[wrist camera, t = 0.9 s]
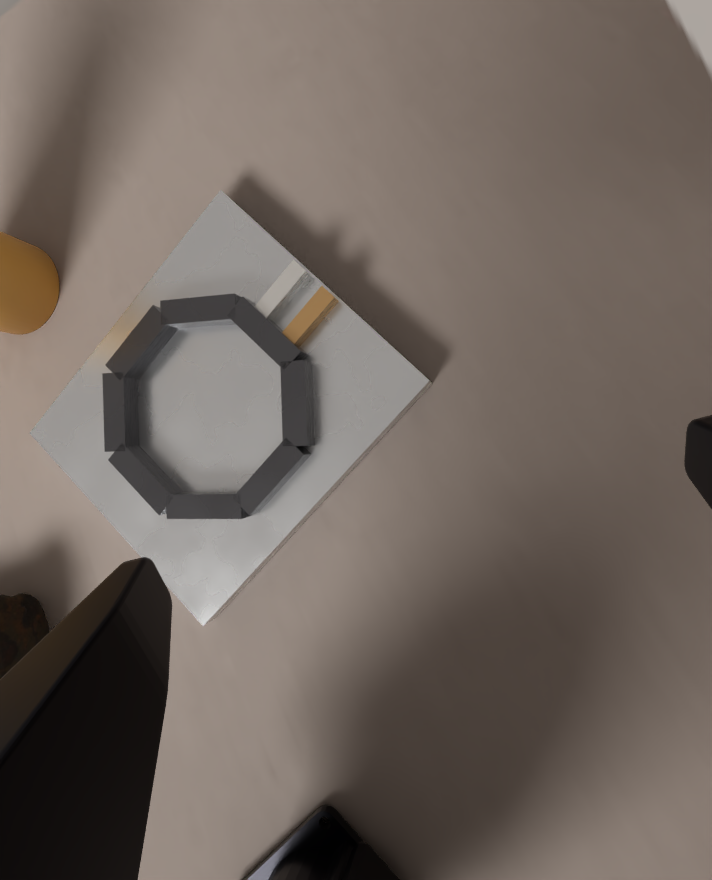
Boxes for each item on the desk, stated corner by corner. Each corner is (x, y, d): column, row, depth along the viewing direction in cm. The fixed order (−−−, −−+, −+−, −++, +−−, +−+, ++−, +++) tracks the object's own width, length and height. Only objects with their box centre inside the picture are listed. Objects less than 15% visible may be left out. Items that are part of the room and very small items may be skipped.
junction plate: (216, 617, 25) (191, 634, 23) (49, 433, 27) (11, 432, 25) (432, 383, 23) (426, 377, 21) (233, 201, 25) (209, 179, 23)
